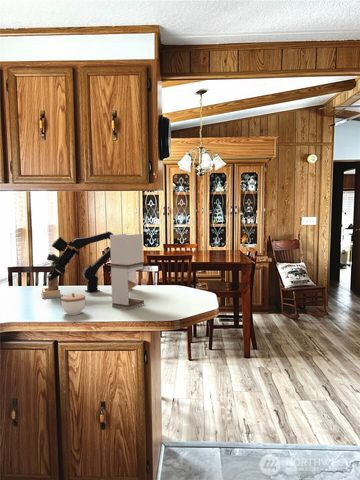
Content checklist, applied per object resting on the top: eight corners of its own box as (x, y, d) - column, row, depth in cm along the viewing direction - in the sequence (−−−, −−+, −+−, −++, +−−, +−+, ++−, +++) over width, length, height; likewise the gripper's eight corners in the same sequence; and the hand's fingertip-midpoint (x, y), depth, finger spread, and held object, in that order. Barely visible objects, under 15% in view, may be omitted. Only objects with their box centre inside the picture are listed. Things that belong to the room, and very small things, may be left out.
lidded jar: (76, 309, 175) (76, 289, 174) (90, 312, 168) (90, 292, 167) (56, 314, 166) (55, 293, 166) (70, 318, 160) (69, 296, 159)
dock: (60, 292, 213) (60, 286, 213) (63, 296, 202) (62, 290, 202) (41, 294, 209) (40, 288, 208) (42, 298, 198) (42, 292, 197)
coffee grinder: (129, 309, 172) (127, 235, 169) (112, 307, 177) (109, 234, 175) (144, 304, 181) (142, 233, 179) (127, 301, 187) (125, 233, 184)
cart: (57, 292, 209) (57, 273, 209) (58, 294, 204) (58, 275, 203) (48, 293, 207) (47, 274, 207) (49, 295, 202) (48, 276, 201)
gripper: (53, 247, 213) (35, 268, 210) (56, 249, 196) (36, 273, 193) (68, 258, 217) (51, 279, 214) (73, 262, 200) (54, 285, 197)
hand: (48, 279), depth 204 cm, fingers open, 9 cm apart
